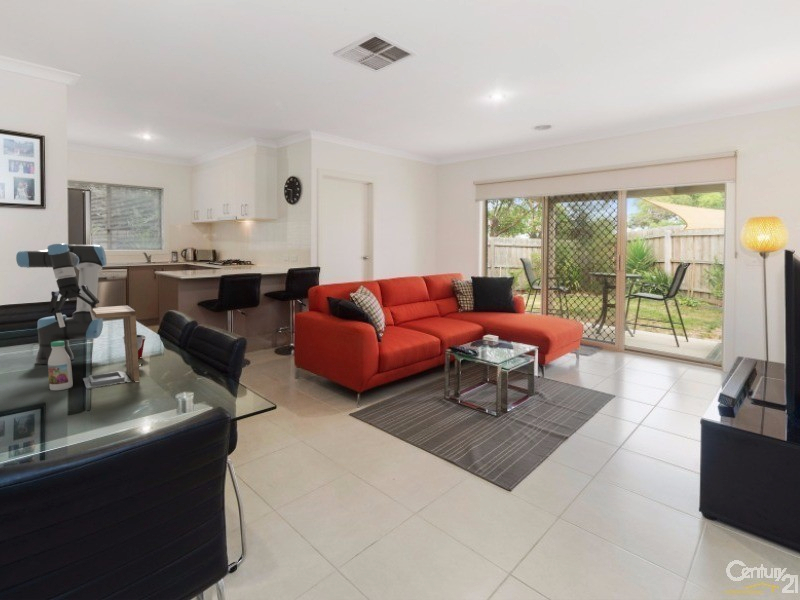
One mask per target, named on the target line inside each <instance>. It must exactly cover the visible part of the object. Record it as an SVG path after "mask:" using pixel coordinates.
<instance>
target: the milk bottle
mask: <svg viewBox="0 0 800 600" xmlns="http://www.w3.org/2000/svg"><path fill="white" fill-rule="evenodd" d="M64 347H65V342H64V341H54V342H51V348H52V352H51V355H50V357H49V359H48V364H47V369H48V371H47V373H48V382H49V383H48V384H49V385H48V386H49V389H50V391H64V390H68V389H71V388H72V387H73V383H74V382H73V371H72V360H70V357H69V355H68V354H67V352H66V351H65V348H64Z"/></svg>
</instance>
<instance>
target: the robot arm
mask: <svg viewBox="0 0 800 600" xmlns="http://www.w3.org/2000/svg"><path fill="white" fill-rule="evenodd" d="M15 260H16V264H17V266H18V267H20V268H26V269H27V268H28V269H30V268H33V269H34V268H52V270H53V273H54V277H55V279H56V280H55V282H56V286H57V288H58V290H56V291H54V290H53V291H51V293H50V295H51V299H50V303H49V307H48V311H47V312H48V314H53V315H52V316H45V317H42V318H39V319H38V320H37V328H36V329H37V336H38V337H37V338H38V344H39V345H38V346H39V348H38V351H37V355H36V357H35V363H36V364H37V363H39V364H38V365H42V364H46V365H48V359H49V357H50V355H51V352H52V348H51V342H54V341H64V342H65V347H64V348H65V351H66V352H67V354H68V355H69V357H70V360H71V361H72V360H74V359H75V358H74V353H73V352H72V349H71V347H70V345H69V341H74V340H75V341H77V340H93V339H98V338H99V337H100V336H101V334H102V332H103V326H104V320H103V319H104V318H96V317H95V316H94V315H93V313H92V312H91V308H96V307H97V304H100V300H99V299H98V288H99V287H98V286H99V276H100V275H99V274H100V272H102V270H103V267H106V266H107V257H106V253H105V249H104V247H103V246H102V245H99V244H72V243H71V244H66V243H62V242H61V243H54V244H50V245H48V246H47V249H40V250H39V249H38V250H22V251H21V250H19V251H17V253H16V256H15ZM75 268H76V269H77V270H78V271H79V272H78V273H79V274H78V278H77V277H76V276H77V274H76V270H75ZM59 296H60V297H59ZM74 298H77V299H76V310H75V311H74V312H73V313H72V314H71V315H72V316H71V317H67V315H66V314H62V312H61V310H62V308H63V306H64V304H65V303H66V301H67V300H68V299H74ZM58 299H59V300H58Z"/></svg>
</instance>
